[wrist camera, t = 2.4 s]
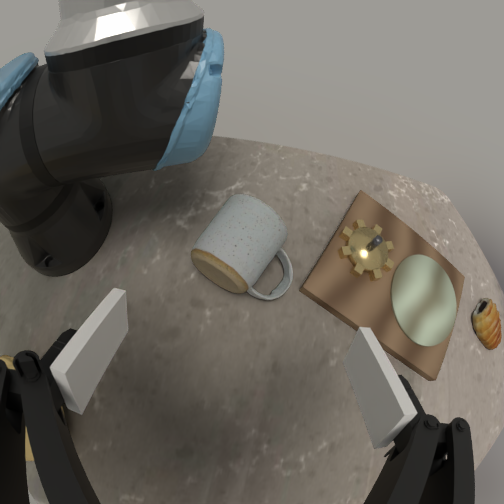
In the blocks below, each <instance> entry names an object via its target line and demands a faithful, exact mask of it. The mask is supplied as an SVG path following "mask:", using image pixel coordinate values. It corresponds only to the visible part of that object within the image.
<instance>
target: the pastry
mask: <svg viewBox="0 0 504 504" xmlns="http://www.w3.org/2000/svg"><path fill="white" fill-rule="evenodd" d="M472 319H473V321H472V323H473V328H474V330H475V331H476V335H477V337H478V338H479V339H480V341H481V342H482V343H483V345H484V346H485V347H486V348H487V349H489V350H492V349H494V348H496V347H497V346H498V344H499V343H500V342H501V324H500V319H499V312H498V311H497V309H496V304H494V303H492V300H491V299H488V298H483V299H482V300H481V302H480V303H478V304H477V307H476V310H475V311H474V313H473V318H472Z"/></svg>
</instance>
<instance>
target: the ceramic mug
mask: <svg viewBox="0 0 504 504" xmlns="http://www.w3.org/2000/svg"><path fill="white" fill-rule="evenodd" d="M287 235H288V233H287V228H286V226H285V224H284V222H283V220H282V219H281V217H280V216H279V215H278V214H277V213H276V212H275V211H274V210H273V209H272V208H271V207H270V206H268V205H267V204H266V203H264V202H263V201H261V200H259V199H257V198H255V197H253V196H250V195H247V194H235V195H233V196H231V197H230V198H229V199H228V200H227V201H226V203H225V204H224V205H223V207H222V208H221V209H220V211H219V212H218V213H217V214H216V216H215V217H214V218H213V220H212V221H211V222H210V224H209V225H208V227H207V228H206V229H205V230H204V232H203V233H202V234H201V235H200V237H199V238H198V240H197V241H196V243H195V245H194V247H193V249H192V251H191V259H192V262H193V263H194V265H195V266H196V267H197V269H198V270H199V271H200V272H201V273H203V274H204V275H205V276H206V277H207V278H209V279H210V280H211V281H213V282H214V283H215V284H217V285H218V286H220V287H222V288H224V289H226V290H228V291H230V292H233V293H239V294H240V293H244V292H246V291H247V292H248V293H249V294H250V295H252V296H254V297H256V298H258V299H263V300H273V299H276V298H279V297H280V296H282V295H283V294H284V293H285V292H286V291H287V289H288V288H289V286H290V285H291V282H292V279H293V269H292V265H291V262H290V260H289V257H288V256H287V254H286V253H285V251H284V250H283V249H282V245H283V244H284V242H285V241H286V239H287ZM276 254H277V256H278V257H279V259H280V260H281V263H282V265H283V268H284V277H283V280H282V281H281V283H280V284H279V285H278V287H277V288H276V289H275V290H272V293H271V295H263V294H261V293H259V292H257V291H256V290H255V289H253V287H252V286H253V285H254V284H255V282H256V281H257V280H258V279H259V277H260V276H261V274H262V273H263V271H264V270H265V268H266V267H267V265H268V264H269V263H270V261H271V260H272V259H273V258H274V256H275V255H276Z"/></svg>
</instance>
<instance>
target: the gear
mask: <svg viewBox="0 0 504 504" xmlns="http://www.w3.org/2000/svg"><path fill="white" fill-rule="evenodd" d="M352 225H353V228H354V231H352V230H351V229H349V228H348V227H347V226H346V227H345V228H344V229H343V230H342V232H341V233H340V235H339V237H340V238H341V239H343V240H344V241H346V245H345V246H343V247H341V248H340V249H339V250H338V254H339V257H340V259H345V258H348V259H349V261H350V262H351V264H352V265H353V268H352V269H351V271H350V273H351V274H352V275H353V276H355V277H356V278H358V277H359V276H360V275H361V274H362V272H365V273H368V274H369V277H370V281H371V282H372V281H377V280H379V279H381V278H382V273H381V270H380V268H382V269H383V270H384V271H386V272H388V271H390V270H391V269H392V268H393V265H394V262H393V261H392V260H391V259H389V258H388V252H390V251H392V250H393V249H394V247H393V244H392V241H387V242H385V241H384V239H383V238H382V236H381V235H380V233H381V231H382V228H381V227H380V226H378V225H377V224H376V225H375V226H374V227H373V228H372V229H371V228H368V227H366V226H365V223H364V221H363V219H361V220H356V221H355V222H354V223H353V224H352Z"/></svg>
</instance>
